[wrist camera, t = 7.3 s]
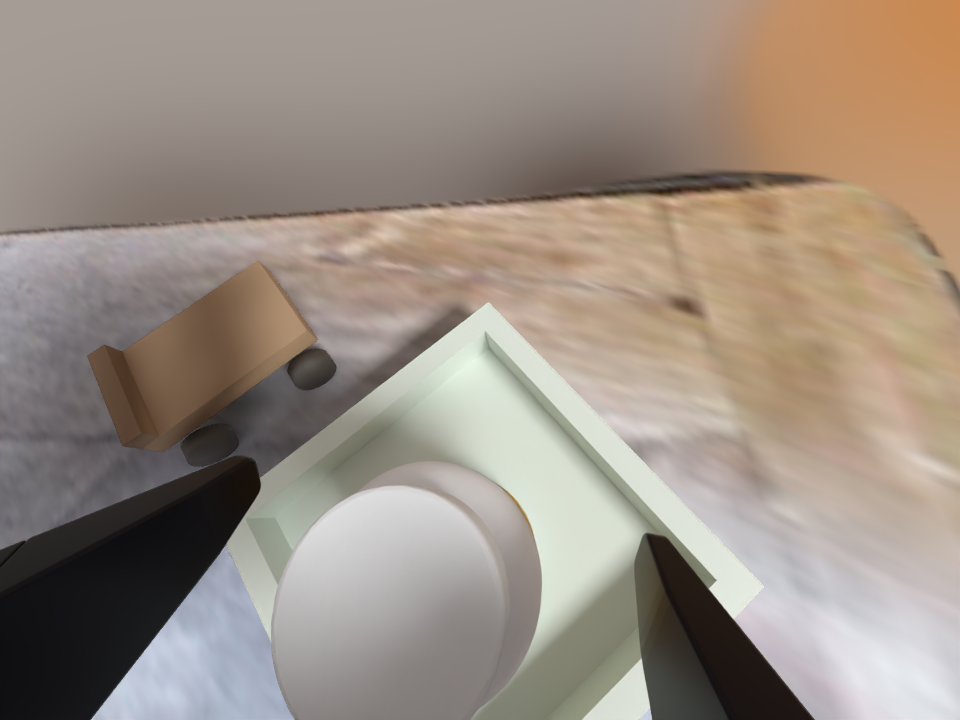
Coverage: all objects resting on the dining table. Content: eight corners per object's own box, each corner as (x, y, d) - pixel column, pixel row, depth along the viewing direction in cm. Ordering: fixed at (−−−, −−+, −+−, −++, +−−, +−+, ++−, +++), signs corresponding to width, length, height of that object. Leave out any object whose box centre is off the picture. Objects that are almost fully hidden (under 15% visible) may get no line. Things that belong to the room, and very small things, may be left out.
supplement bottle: (524, 469, 16) (524, 425, 7) (546, 619, 14) (585, 827, 5) (399, 484, 16) (245, 461, 7) (404, 633, 14) (201, 851, 5)
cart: (207, 470, 18) (129, 462, 14) (160, 372, 20) (82, 343, 17) (346, 367, 19) (305, 335, 16) (287, 284, 22) (239, 239, 18)
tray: (435, 872, 12) (415, 956, 10) (254, 513, 17) (212, 514, 15) (725, 573, 15) (764, 586, 12) (492, 326, 19) (488, 302, 17)
